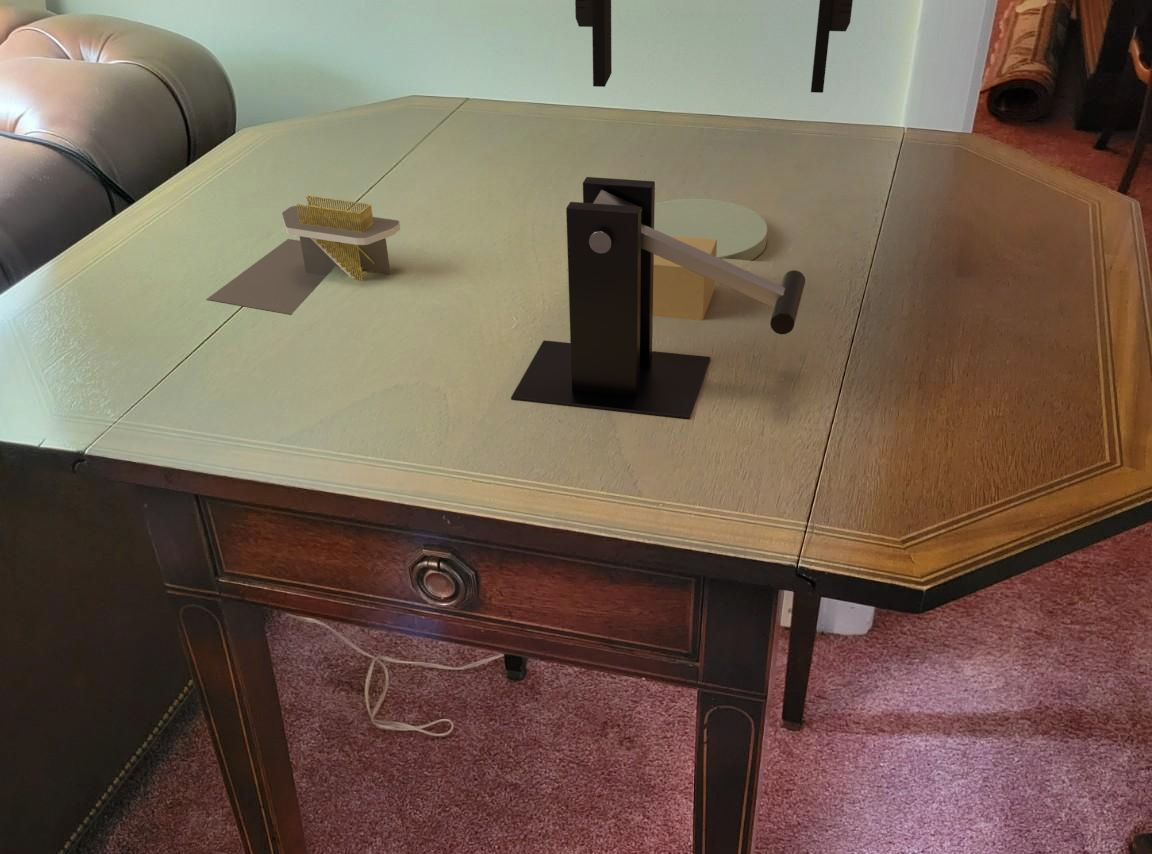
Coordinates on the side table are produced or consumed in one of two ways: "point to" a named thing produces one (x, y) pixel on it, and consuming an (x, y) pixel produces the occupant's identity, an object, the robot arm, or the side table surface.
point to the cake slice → (682, 285)
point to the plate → (714, 225)
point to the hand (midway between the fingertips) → (708, 83)
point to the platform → (313, 255)
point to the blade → (724, 271)
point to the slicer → (612, 317)
